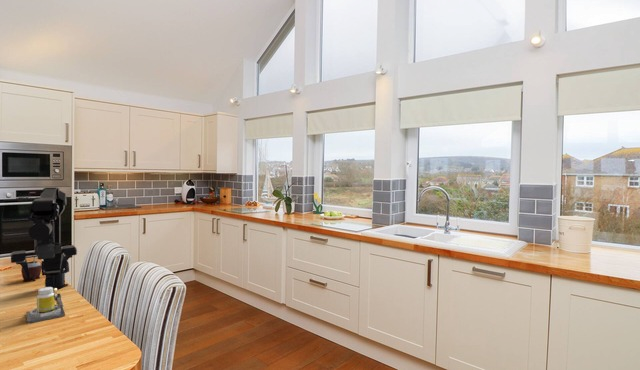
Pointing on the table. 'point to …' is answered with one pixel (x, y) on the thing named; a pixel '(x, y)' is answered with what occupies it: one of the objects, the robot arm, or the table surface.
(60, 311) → the grey handled tray
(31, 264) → the mate gourd
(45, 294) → the supplement bottle
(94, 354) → the table surface
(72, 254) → the robot arm
